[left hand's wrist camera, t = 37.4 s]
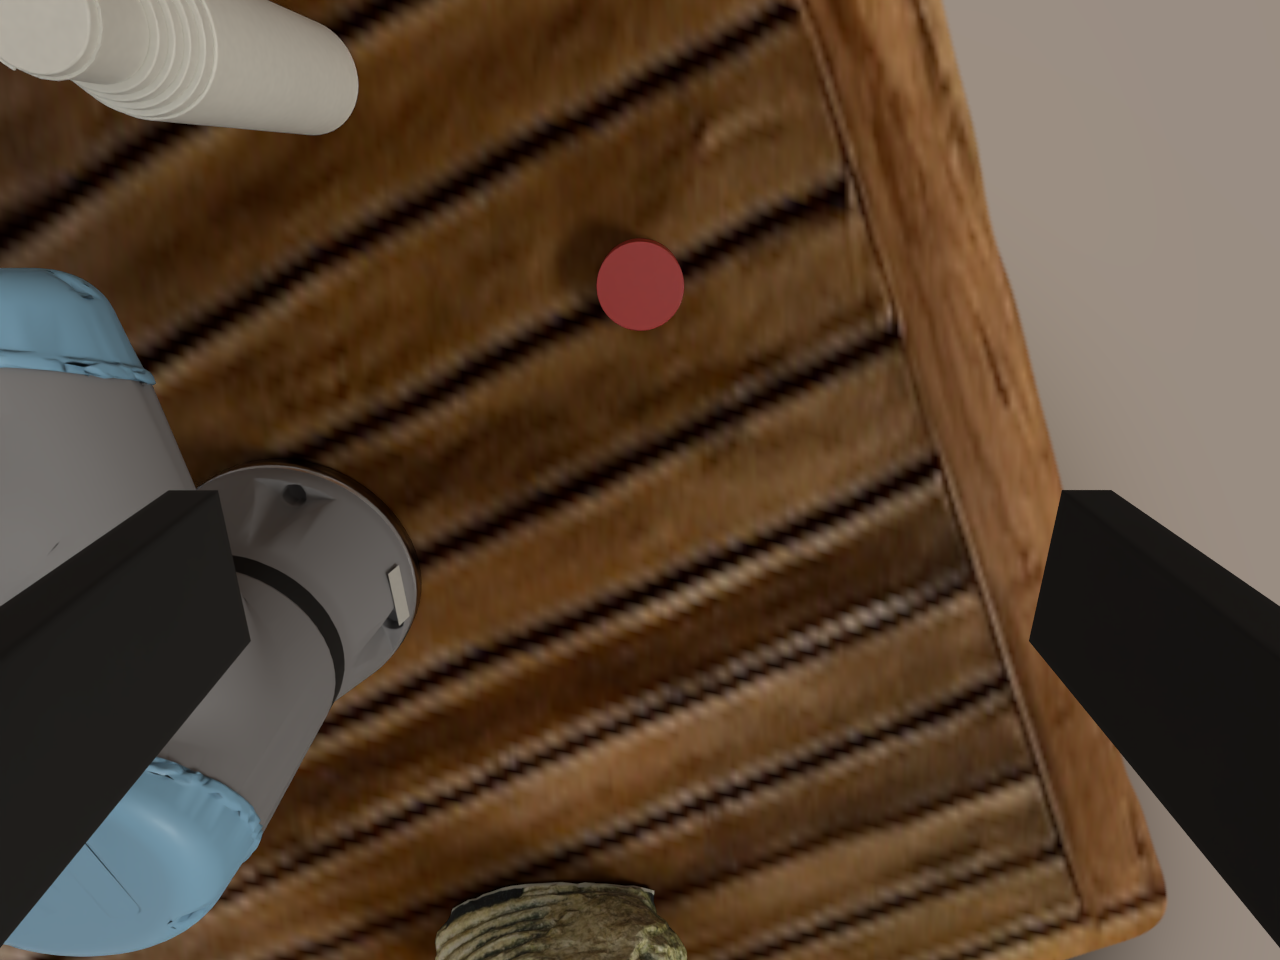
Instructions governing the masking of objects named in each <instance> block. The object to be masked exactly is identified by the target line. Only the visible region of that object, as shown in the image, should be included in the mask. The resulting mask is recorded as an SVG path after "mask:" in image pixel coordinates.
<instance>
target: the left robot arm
mask: <svg viewBox="0 0 1280 960" xmlns="http://www.w3.org/2000/svg"><path fill="white" fill-rule="evenodd" d="M154 384H156V382H155V379H154V377H153V375H152V374H151V373H150V372H149V371H147V370H146V369H144V368H143V366H142V364H141V363H140V361H139V359H138V357H137V355H136V353H135V351H134V349H133V348H132V346H131V344H130V342H129V340H128V338H127V336H126V333H125V331H124V329H123V327H122V325H121V323H120V321H119V319H118V317H117V315H116V313H115V311H114V309H113V308H112V306H111V304H110V303H109V301H108V300H107V298H106V297H105V296H104V295H103V294H102V293H101V292H100V291H99V290H98V289H97V288H96V287H94V286H93V285H91V284H90V283H88V282H87V281H85V280H83V279H82V278H79V277H77V276H75V275H72V274H69V273H65V272H62V271H58V270H52V269H42V268H0V947H1V946H2V945H3V944H6V945H10V946H13V947H16V948H19V949H23V950H28V951H33V952H38V953H45V954H52V955H62V956H103V955H113V954H121V953H127V952H132V951H137V950H141V949H144V948H148V947H151V946H154V945H156V944H159V943H162V942H164V941H167V940H169V939H171V938H173V937H175V936H177V935H179V934H180V933H182V932H184V931H185V930H187V929H188V928H190V927H191V926H192V925H194V924H195V923H197V922H198V921H199V920H200V919H201V918H202V917H203V916H204V915H205V914H206V913H207V912H208V911H209V910H210V909H211V908H212V907H213V906H214V905H215V903H216V902H217V901H218V899H219V898H220V896H221V895H222V893H223V892H224V890H225V889H226V887H227V886H228V884H229V882H230V881H231V879H232V878H233V876H234V875H235V873H236V872H237V870H238V869H239V867H240V866H241V864H242V863H243V862H245V861H246V860H247V859H248V858H249V857H250V856H251V854H252V853H253V852H254V851H255V850H256V849H257V847H258V845H259V843H260V840H261V838H262V834H263V832H264V830H265V828H266V827H267V825H268V823H269V821H270V819H271V817H272V816H273V814H274V812H275V810H276V808H277V806H278V804H279V803H280V801H281V799H282V797H283V795H284V793H285V792H286V790H287V788H288V786H289V784H290V782H291V780H292V779H293V777H294V775H295V773H296V771H297V769H298V768H299V766H300V764H301V762H302V760H303V758H304V756H305V755H306V753H307V751H308V749H309V747H310V745H311V744H312V742H313V740H314V738H315V736H316V734H317V732H318V731H319V729H320V727H321V725H322V723H323V721H324V720H325V718H326V716H327V714H328V712H329V710H330V708H331V707H332V705H333V703H334V702H335V701H336V700H337V699H339V698H340V697H341V696H343V695H344V694H346V693H347V692H348V691H350V690H351V689H352V688H354V687H355V686H357V685H358V684H359V683H361V682H362V681H363V680H365V679H366V678H368V677H369V676H370V675H372V674H373V673H374V672H376V671H377V670H378V669H379V668H380V667H382V666H383V665H384V664H385V663H386V662H387V661H388V659H389V658H390V657H391V656H392V655H393V654H394V652H395V651H396V650H397V649H398V647H399V646H400V645H401V643H402V642H403V640H404V638H405V637H406V635H407V633H408V631H409V629H410V627H411V625H412V623H413V621H414V618H415V616H416V613H417V610H418V606H419V603H420V596H421V572H420V567H419V562H418V558H417V555H416V552H415V549H414V547H413V544H412V542H411V539H410V538H409V536H408V534H407V532H406V530H405V529H404V527H403V526H402V524H401V523H400V521H399V520H398V518H397V517H396V516H395V515H394V513H393V512H392V511H391V510H390V509H389V508H388V507H387V506H386V505H385V504H384V503H383V502H382V501H381V500H380V499H379V498H378V497H377V496H376V495H374V494H373V493H372V492H371V491H369V490H368V489H367V488H365V487H364V486H363V485H361V484H359V483H358V482H356V481H354V480H353V479H351V478H349V477H347V476H345V475H343V474H341V473H339V472H337V471H334V470H332V469H329V468H327V467H324V466H320V465H317V464H314V463H309V462H304V461H298V460H290V459H265V460H257V461H251V462H247V463H243V464H239V465H236V466H234V467H231V468H229V469H226V470H224V471H222V472H221V473H219V474H217V475H215V476H214V477H212V478H211V479H209V480H208V481H206V482H205V483H204V484H202V485H201V486H200V487H198V488H197V489H196V488H195V486H194V483H193V481H192V478H191V476H190V474H189V471H188V469H187V467H186V464H185V462H184V459H183V457H182V455H181V452H180V450H179V448H178V445H177V443H176V440H175V438H174V436H173V433H172V431H171V429H170V426H169V424H168V421H167V419H166V417H165V414H164V412H163V410H162V407H161V405H160V402H159V400H158V398H157V395H156V393H155V391H154V388H153V386H152V385H154ZM1029 642H1030V643H1031V644H1032V645H1033V646H1034V648H1035V649H1036V650H1037V651H1038V653H1039V654H1040V655H1041V656H1042V657H1043V659H1044V660H1045V661H1046V662H1047V664H1048V665H1049V666H1050V667H1051V668H1052V670H1053V671H1054V672H1055V673H1056V675H1057V676H1058V677H1059V678H1060V679H1061V681H1062V682H1063V683H1064V684H1065V686H1066V687H1067V688H1068V689H1069V691H1070V692H1071V693H1072V694H1073V695H1074V697H1075V698H1076V699H1077V700H1078V702H1079V703H1080V704H1081V705H1082V706H1083V708H1084V709H1085V710H1086V711H1087V713H1088V714H1089V715H1090V716H1091V717H1092V719H1093V720H1094V721H1095V722H1096V724H1097V725H1098V726H1099V727H1100V728H1101V730H1102V731H1103V732H1104V733H1105V735H1106V736H1107V737H1108V738H1109V739H1110V741H1111V742H1112V743H1113V744H1114V746H1115V747H1116V748H1117V749H1118V750H1119V752H1120V753H1121V754H1122V755H1123V757H1124V758H1125V759H1126V760H1127V761H1128V763H1129V764H1130V765H1131V766H1132V768H1133V769H1134V770H1135V771H1136V772H1137V774H1138V775H1139V776H1140V777H1141V779H1142V780H1143V781H1144V782H1145V783H1146V785H1147V786H1148V787H1149V788H1150V790H1151V791H1152V792H1153V793H1154V794H1155V796H1156V797H1157V798H1158V799H1159V801H1160V802H1161V803H1162V804H1163V805H1164V807H1165V808H1166V809H1167V810H1168V812H1169V813H1170V814H1171V815H1172V816H1173V818H1174V819H1175V820H1176V821H1177V823H1178V824H1179V825H1180V826H1181V827H1182V829H1183V830H1184V831H1185V832H1186V834H1187V835H1188V836H1189V837H1190V838H1191V840H1192V841H1193V842H1194V843H1195V845H1196V846H1197V847H1198V848H1199V849H1200V851H1201V852H1202V853H1203V854H1204V856H1205V857H1206V858H1207V859H1208V861H1209V862H1210V863H1211V864H1212V865H1213V867H1214V868H1215V869H1216V870H1217V872H1218V873H1219V874H1220V875H1221V876H1222V878H1223V879H1224V880H1225V881H1226V883H1227V884H1228V885H1229V886H1230V887H1231V889H1232V890H1233V891H1234V892H1235V894H1236V895H1237V896H1238V897H1239V898H1240V900H1241V901H1242V902H1243V903H1244V905H1245V906H1246V907H1247V908H1248V909H1249V911H1250V912H1251V913H1252V914H1253V916H1254V917H1255V918H1256V919H1257V920H1258V922H1259V923H1260V924H1261V925H1262V927H1263V928H1264V929H1265V930H1266V931H1267V933H1268V934H1269V935H1270V936H1271V938H1272V939H1273V940H1274V941H1275V942H1276V944H1277V945H1278V946H1279V947H1280V606H1278V605H1277V604H1275V603H1274V602H1273V601H1271V600H1270V599H1268V598H1267V597H1265V596H1264V595H1262V594H1261V593H1260V592H1258V591H1257V590H1255V589H1254V588H1252V587H1251V586H1249V585H1248V584H1247V583H1245V582H1244V581H1242V580H1241V579H1239V578H1238V577H1236V576H1235V575H1234V574H1232V573H1231V572H1229V571H1228V570H1226V569H1225V568H1223V567H1222V566H1220V565H1219V564H1218V563H1216V562H1215V561H1213V560H1212V559H1210V558H1209V557H1207V556H1206V555H1205V554H1203V553H1202V552H1200V551H1199V550H1197V549H1196V548H1194V547H1193V546H1191V545H1190V544H1189V543H1187V542H1186V541H1184V540H1183V539H1181V538H1180V537H1178V536H1177V535H1176V534H1174V533H1173V532H1171V531H1170V530H1168V529H1167V528H1165V527H1164V526H1162V525H1161V524H1160V523H1158V522H1157V521H1155V520H1154V519H1152V518H1151V517H1149V516H1148V515H1147V514H1145V513H1144V512H1142V511H1141V510H1139V509H1138V508H1136V507H1135V506H1133V505H1132V504H1131V503H1129V502H1128V501H1126V500H1125V499H1123V498H1122V497H1120V496H1119V495H1118V494H1116V493H1115V492H1113V491H1112V490H1062V493H1061V497H1060V502H1059V506H1058V511H1057V516H1056V520H1055V525H1054V529H1053V534H1052V538H1051V543H1050V548H1049V552H1048V557H1047V561H1046V566H1045V570H1044V575H1043V579H1042V584H1041V589H1040V593H1039V598H1038V602H1037V607H1036V611H1035V616H1034V621H1033V625H1032V630H1031V634H1030V639H1029Z"/></svg>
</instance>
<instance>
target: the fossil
mask: <svg viewBox="0 0 1280 960" xmlns="http://www.w3.org/2000/svg"><path fill="white" fill-rule="evenodd" d="M653 900H654V891H653V890H650V889H646V888H642V887H638V886H623V885H615V884H600V883H587V882H584V883H580V884H573V883H565V882H553V883H536V884H523V885H516V886H509V887H505V888H501V889H498V890H495V891H492V892H489V893H486V894H483V895H481V896H480V897H478V898H475V899H470V900H467V901H466V902H464V903H462V904H460V905H458V906H456V907H455V908H453V909H452V912H451V916H450V917H449V919H448V921H447V922H446V923H445V924H444V925H443V926H442V927H441V929H440V930H439V931H438V932H437V935H436V939H435V945H436V950H437V955H436V959H435V960H687V952H686V949H685V947H684V945H683V943H682V942H681V940H680V938H679V937H678V936H677V934H676V933H675V932H674V931H673V930H672V929H671V928H670V927H669V925H668V923H667V922H666V920H664V919H663V918H661V917H660V916H658V915H657V914H656V908H655V905H654V902H653Z"/></svg>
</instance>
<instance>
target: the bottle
mask: <svg viewBox="0 0 1280 960" xmlns="http://www.w3.org/2000/svg"><path fill="white" fill-rule="evenodd" d="M0 62H2V63H3V64H5V65H6V66H8V67H9V68H11V69H12V70H16V69H19V70H21V71H23V72H25V73H28V74H30V75H33V76H35V77H38V78H40V79H47V80H55V81H62V80H71V81H73V82H74V83H76V84H77V85H78V86H79V87H81V88H82V89H83V90H85V91H86V92H87V93H89V94H90V95H92V96H93V97H94V98H95V99H97V100H98V101H100V102H101V103H103V104H104V105H106V106H108V107H110V108H112V109H114V110H116V111H119V112H122V113H125V114H127V115H130V116H133V117H136V118H139V119H144V120H152V121H163V122H174V123H185V124H196V125H206V126H217V127H228V128H239V129H250V130H261V131H272V132H283V133H294V134H305V135H321V134H326V133H329V132H331V131H333V130H335V129H337V128H338V127H340V126H341V125H342V124H343V123H344V122H345V121H346V120H347V119H348V118H349V116H350V115H351V113H352V111H353V109H354V107H355V104H356V100H357V95H358V76H357V71H356V67H355V64H354V61H353V59H352V56H351V54H350V53H349V51H348V49H347V47H346V46H345V45H344V43H343V42H342V41H341V40H340V38H339V37H338V36H337V35H336V34H335V33H333V32H332V31H331V30H330V29H328V28H327V27H325V26H324V25H322V24H320V23H318V22H316V21H313V20H311V19H309V18H307V17H304V16H302V15H300V14H298V13H295V12H293V11H291V10H288V9H286V8H284V7H282V6H279V5H277V4H275V3H273V2H270V1H268V0H0Z"/></svg>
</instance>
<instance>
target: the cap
mask: <svg viewBox="0 0 1280 960" xmlns="http://www.w3.org/2000/svg"><path fill="white" fill-rule="evenodd" d="M596 289H597V296H598V299H599V302H600V305H601V307H602V309H603V310H604V312H605V313H606V314H607V316H608V317H609V318H610V319H611V320H613V321H614V322H615V323H617V324H618V325H620V326H622V327H624V328H627V329H630V330H636V331H644V330H650V329H654V328H656V327H659V326H661V325H662V324H664V323H665V322H667V321H668V320H669V319H670V318H671V317H672V316H673V315H674V314H675V313H676V311H677V309H678V308H679V306H680V303H681V301H682V298H683V293H684V279H683V274H682V271H681V268H680V266H679V263H678V261H677V259H676V258H675V256H674V255H673V254H672V253H671V251H670V250H669V249H667V248H666V247H665V246H663V245H662V244H660V243H658V242H656V241H653V240H650V239H644V238H637V239H631V240H627V241H624V242H622V243H620V244H619V245H617V246H616V247H614V248H613V249H612V250H611V251H610V252H609V253H608V254H607V256H606V257H605V259H604V260H603V262H602V265H601V267H600V270H599V273H598V276H597V287H596Z"/></svg>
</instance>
